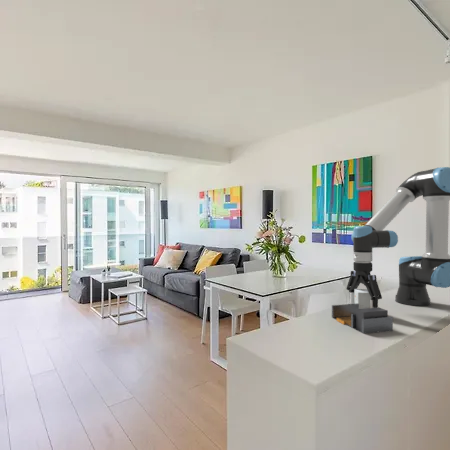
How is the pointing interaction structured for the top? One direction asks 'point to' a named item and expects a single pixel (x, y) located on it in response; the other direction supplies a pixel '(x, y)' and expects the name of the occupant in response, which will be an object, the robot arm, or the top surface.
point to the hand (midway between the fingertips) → (363, 310)
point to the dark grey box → (368, 315)
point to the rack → (369, 325)
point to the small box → (362, 298)
